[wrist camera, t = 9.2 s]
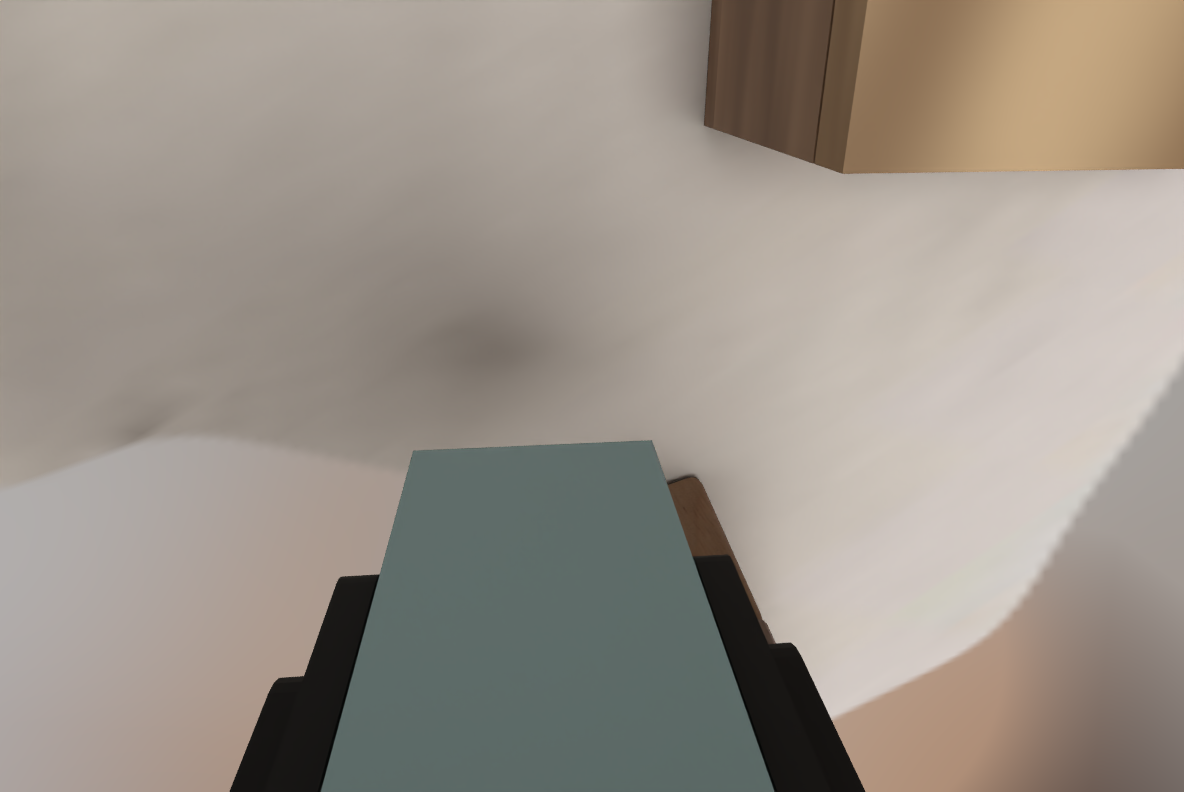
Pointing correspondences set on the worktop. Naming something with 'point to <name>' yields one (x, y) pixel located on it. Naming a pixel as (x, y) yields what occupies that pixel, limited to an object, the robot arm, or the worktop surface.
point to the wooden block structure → (706, 531)
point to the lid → (1003, 86)
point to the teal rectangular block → (542, 636)
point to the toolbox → (769, 71)
